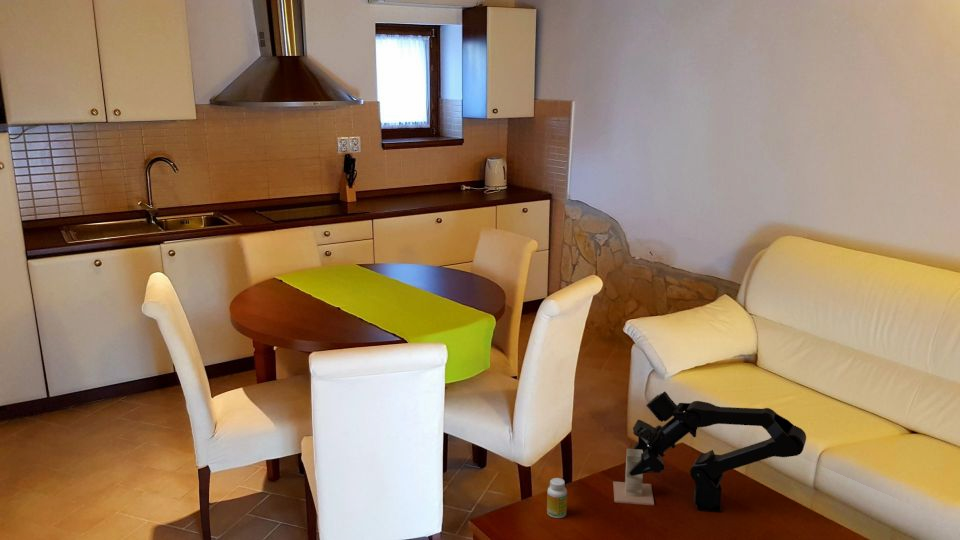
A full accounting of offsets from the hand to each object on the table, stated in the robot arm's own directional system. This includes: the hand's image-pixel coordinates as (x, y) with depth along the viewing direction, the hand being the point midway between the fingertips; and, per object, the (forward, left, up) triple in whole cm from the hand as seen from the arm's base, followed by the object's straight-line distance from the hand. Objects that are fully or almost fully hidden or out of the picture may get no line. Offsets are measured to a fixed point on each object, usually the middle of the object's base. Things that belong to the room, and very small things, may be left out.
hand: (629, 466), depth 208 cm
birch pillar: (-1, 0, -8) cm, 8 cm away
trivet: (-1, 0, -9) cm, 9 cm away
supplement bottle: (+20, +14, -9) cm, 26 cm away
